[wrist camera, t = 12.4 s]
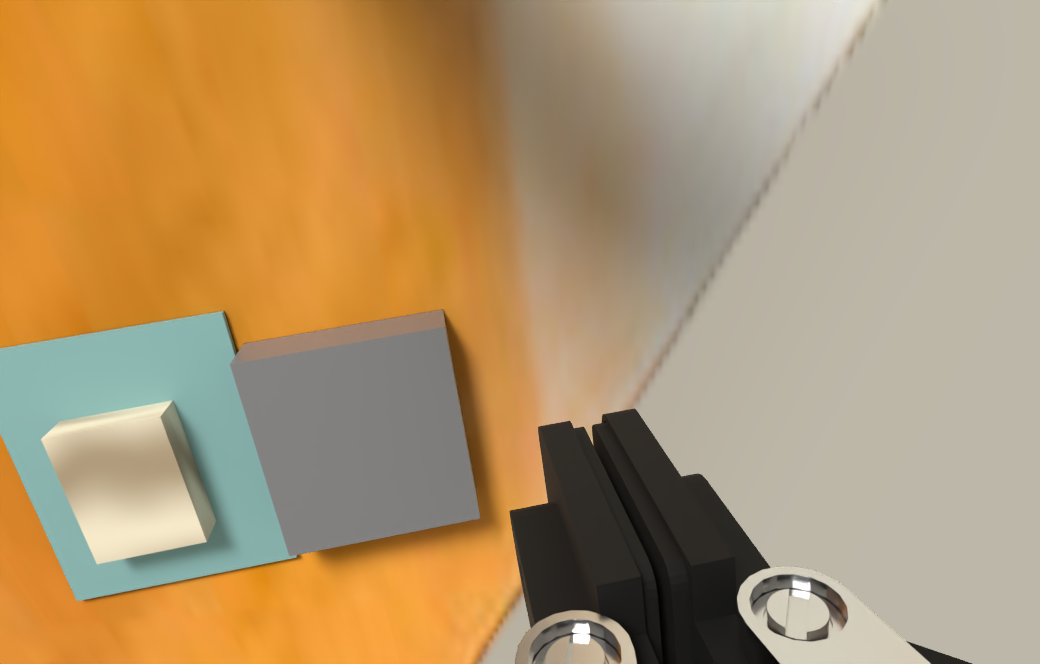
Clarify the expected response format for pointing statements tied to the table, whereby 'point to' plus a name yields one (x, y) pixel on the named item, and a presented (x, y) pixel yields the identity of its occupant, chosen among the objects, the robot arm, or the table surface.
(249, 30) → the table surface
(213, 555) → the mat
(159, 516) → the birch tile
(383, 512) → the grey flat square block
